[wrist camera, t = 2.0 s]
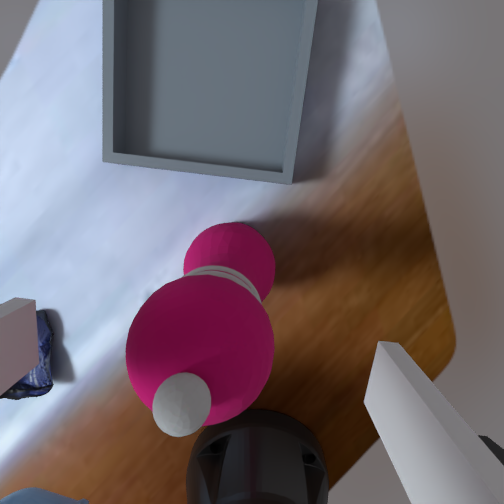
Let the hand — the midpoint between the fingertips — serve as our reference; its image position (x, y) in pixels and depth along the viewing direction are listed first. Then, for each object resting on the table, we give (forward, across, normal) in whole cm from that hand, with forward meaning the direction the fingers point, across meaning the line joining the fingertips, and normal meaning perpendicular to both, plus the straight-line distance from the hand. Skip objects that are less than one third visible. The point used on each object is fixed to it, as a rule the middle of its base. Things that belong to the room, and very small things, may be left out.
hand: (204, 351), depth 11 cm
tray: (+17, +4, -14) cm, 22 cm away
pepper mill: (+17, 0, 0) cm, 17 cm away
